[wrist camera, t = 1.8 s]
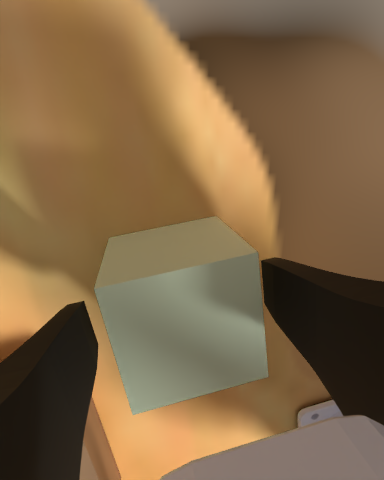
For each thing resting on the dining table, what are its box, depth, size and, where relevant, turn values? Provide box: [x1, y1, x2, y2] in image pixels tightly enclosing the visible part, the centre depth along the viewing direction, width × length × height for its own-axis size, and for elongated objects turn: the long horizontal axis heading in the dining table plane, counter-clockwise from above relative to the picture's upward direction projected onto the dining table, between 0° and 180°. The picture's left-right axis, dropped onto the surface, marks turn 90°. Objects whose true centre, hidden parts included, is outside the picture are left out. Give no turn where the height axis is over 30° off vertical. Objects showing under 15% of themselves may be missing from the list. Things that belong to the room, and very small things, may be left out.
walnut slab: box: [79, 396, 121, 480], centre depth 14 cm, size 9×9×2 cm
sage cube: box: [94, 216, 269, 415], centre depth 12 cm, size 5×5×5 cm
